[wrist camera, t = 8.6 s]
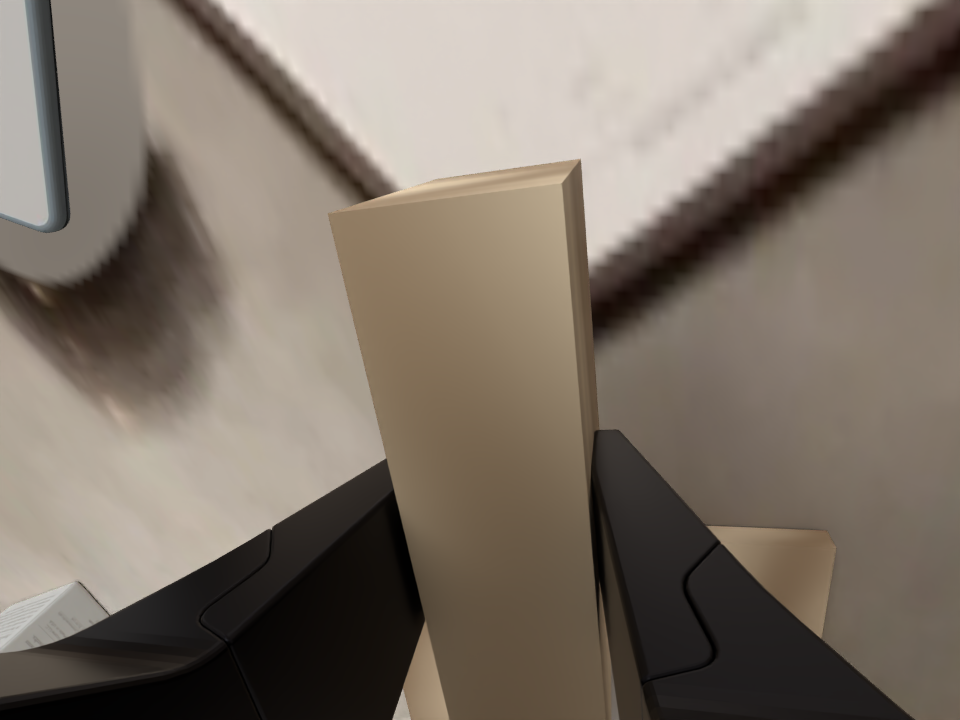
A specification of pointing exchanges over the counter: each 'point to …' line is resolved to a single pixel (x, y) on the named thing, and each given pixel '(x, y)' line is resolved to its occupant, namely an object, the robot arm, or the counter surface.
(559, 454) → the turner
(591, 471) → the robot arm
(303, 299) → the counter surface
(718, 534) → the tan flat board
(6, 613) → the skincare box
